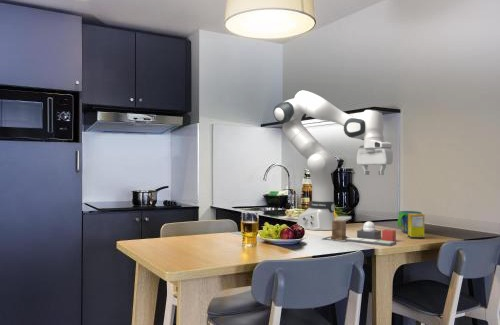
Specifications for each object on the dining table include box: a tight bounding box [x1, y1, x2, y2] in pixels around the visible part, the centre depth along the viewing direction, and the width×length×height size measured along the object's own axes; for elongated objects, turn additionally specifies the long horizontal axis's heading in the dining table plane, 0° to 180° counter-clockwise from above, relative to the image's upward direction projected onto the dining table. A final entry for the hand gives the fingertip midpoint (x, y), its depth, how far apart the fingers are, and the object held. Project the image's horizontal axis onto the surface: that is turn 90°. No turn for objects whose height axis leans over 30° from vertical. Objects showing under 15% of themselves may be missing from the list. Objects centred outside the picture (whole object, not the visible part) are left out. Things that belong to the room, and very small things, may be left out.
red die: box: [381, 228, 397, 242], centre depth 198 cm, size 4×4×5 cm
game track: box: [344, 236, 397, 247], centre depth 193 cm, size 20×8×1 cm, turn 54°
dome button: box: [362, 220, 376, 232], centre depth 203 cm, size 5×5×6 cm
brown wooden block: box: [330, 219, 348, 241], centre depth 201 cm, size 5×5×8 cm
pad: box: [321, 235, 351, 243], centre depth 201 cm, size 11×11×1 cm
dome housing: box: [356, 228, 382, 240], centre depth 203 cm, size 8×8×4 cm
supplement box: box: [407, 212, 425, 240], centre depth 207 cm, size 6×6×11 cm
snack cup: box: [397, 210, 423, 234], centre depth 223 cm, size 16×10×10 cm
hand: (373, 174), depth 208 cm, fingers open, 8 cm apart
